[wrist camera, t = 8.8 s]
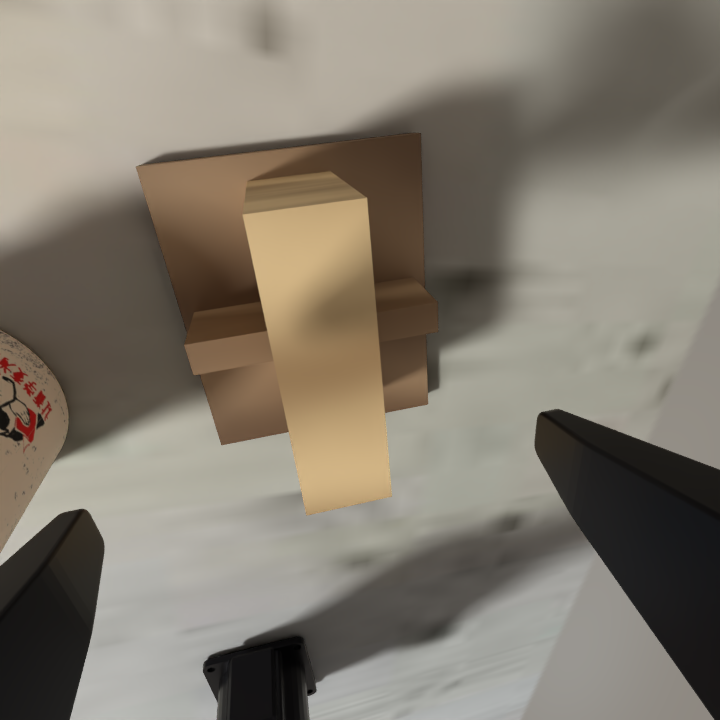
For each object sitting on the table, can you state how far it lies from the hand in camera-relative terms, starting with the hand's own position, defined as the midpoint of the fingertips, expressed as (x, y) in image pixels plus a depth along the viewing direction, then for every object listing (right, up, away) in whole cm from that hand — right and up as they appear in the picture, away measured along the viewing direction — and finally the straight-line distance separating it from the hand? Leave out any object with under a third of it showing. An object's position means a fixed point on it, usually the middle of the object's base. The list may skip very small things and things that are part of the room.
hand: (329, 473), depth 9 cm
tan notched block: (-2, +5, +10) cm, 11 cm away
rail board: (-2, +5, +11) cm, 12 cm away
